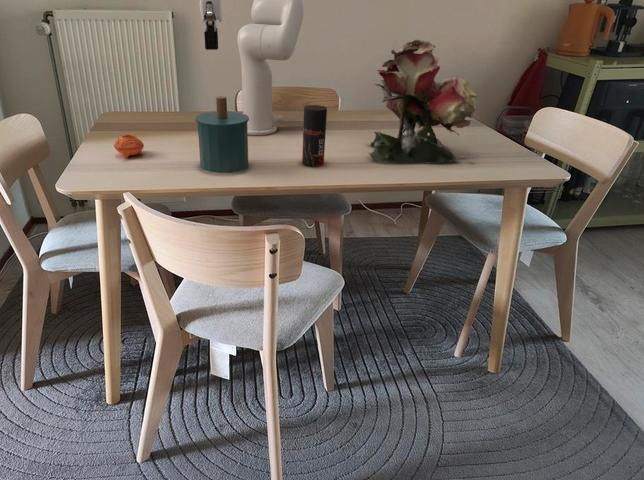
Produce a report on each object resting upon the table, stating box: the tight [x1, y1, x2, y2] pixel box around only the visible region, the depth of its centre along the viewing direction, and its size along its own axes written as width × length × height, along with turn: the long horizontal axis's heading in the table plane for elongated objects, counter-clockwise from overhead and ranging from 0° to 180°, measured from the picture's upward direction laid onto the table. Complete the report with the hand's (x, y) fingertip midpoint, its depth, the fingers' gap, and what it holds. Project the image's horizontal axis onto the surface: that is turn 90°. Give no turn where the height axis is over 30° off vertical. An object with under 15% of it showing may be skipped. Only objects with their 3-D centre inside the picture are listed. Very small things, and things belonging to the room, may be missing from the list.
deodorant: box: [301, 104, 328, 168], centre depth 133 cm, size 6×6×15 cm
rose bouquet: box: [367, 38, 478, 165], centre depth 141 cm, size 26×29×30 cm
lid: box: [195, 95, 249, 127], centre depth 126 cm, size 14×14×6 cm
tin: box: [197, 122, 249, 174], centre depth 130 cm, size 13×13×12 cm
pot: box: [113, 133, 145, 160], centre depth 137 cm, size 8×8×7 cm
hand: (211, 46), depth 128 cm, fingers open, 9 cm apart
